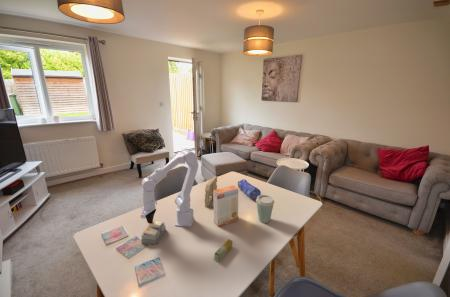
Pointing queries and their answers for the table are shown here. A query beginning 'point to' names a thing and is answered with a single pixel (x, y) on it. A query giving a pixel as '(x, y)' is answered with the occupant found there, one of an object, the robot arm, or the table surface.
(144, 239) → the breaker panel
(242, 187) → the pencil case
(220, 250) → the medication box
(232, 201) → the cracker box
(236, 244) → the table surface
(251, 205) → the table surface
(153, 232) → the breaker
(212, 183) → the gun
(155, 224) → the breaker
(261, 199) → the disposable coffee cup
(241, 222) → the table surface
